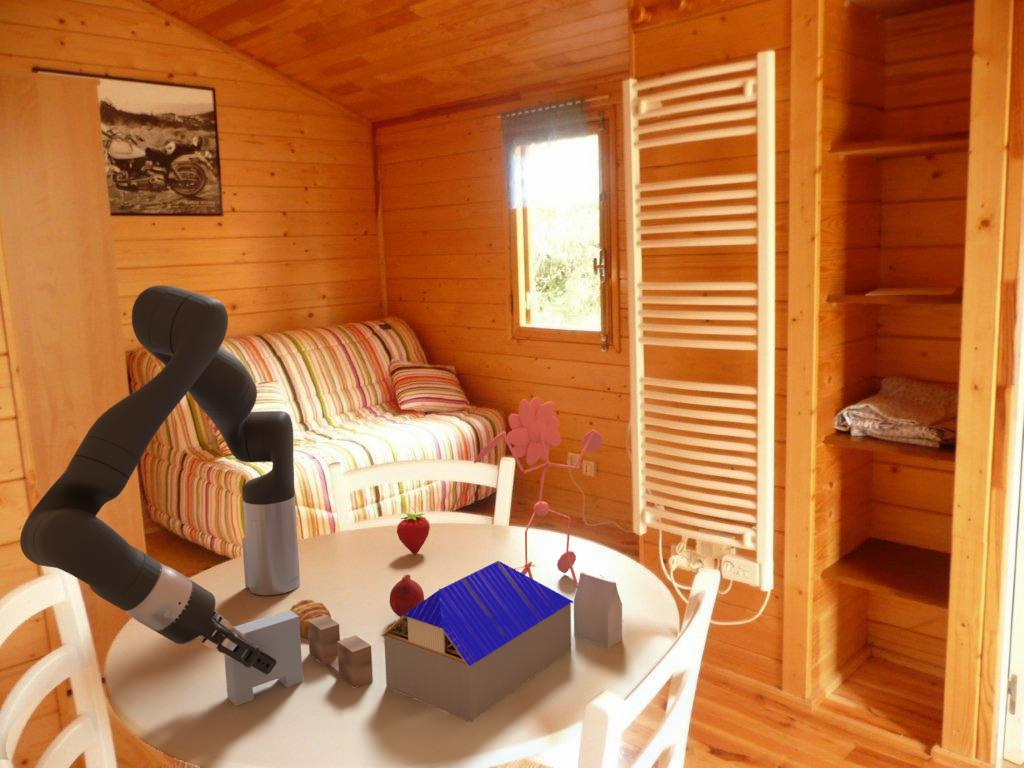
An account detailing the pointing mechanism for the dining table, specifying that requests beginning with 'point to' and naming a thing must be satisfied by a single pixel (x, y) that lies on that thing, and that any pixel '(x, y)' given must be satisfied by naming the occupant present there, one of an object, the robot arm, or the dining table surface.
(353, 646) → the walnut blocks
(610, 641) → the grey house-shaped block
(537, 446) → the figurine
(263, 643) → the grey notched square slab
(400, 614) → the onion
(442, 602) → the house
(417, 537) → the strawberry
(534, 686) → the dining table surface
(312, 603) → the pastry
